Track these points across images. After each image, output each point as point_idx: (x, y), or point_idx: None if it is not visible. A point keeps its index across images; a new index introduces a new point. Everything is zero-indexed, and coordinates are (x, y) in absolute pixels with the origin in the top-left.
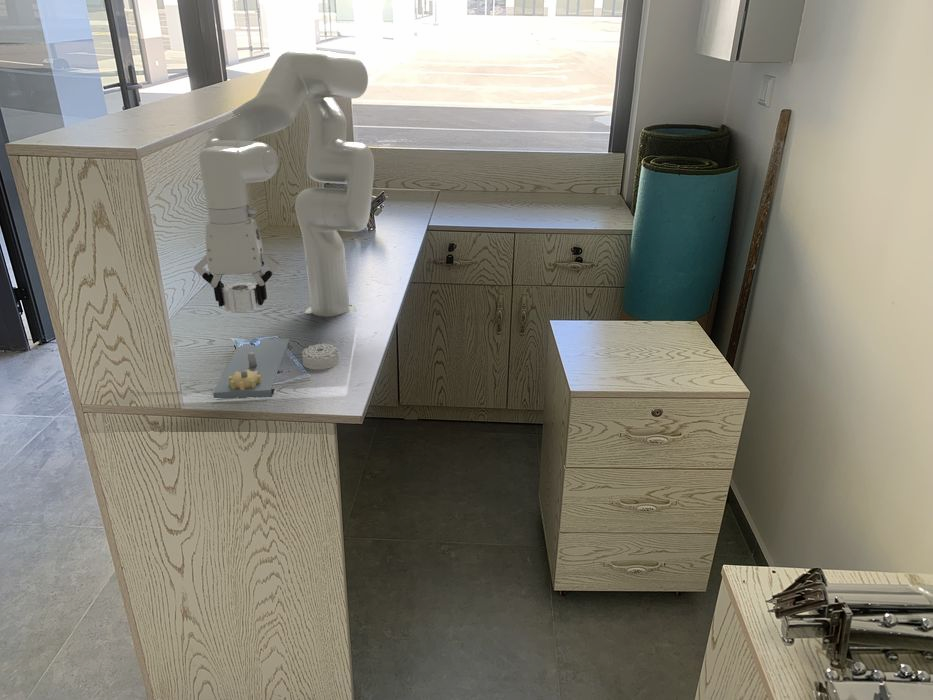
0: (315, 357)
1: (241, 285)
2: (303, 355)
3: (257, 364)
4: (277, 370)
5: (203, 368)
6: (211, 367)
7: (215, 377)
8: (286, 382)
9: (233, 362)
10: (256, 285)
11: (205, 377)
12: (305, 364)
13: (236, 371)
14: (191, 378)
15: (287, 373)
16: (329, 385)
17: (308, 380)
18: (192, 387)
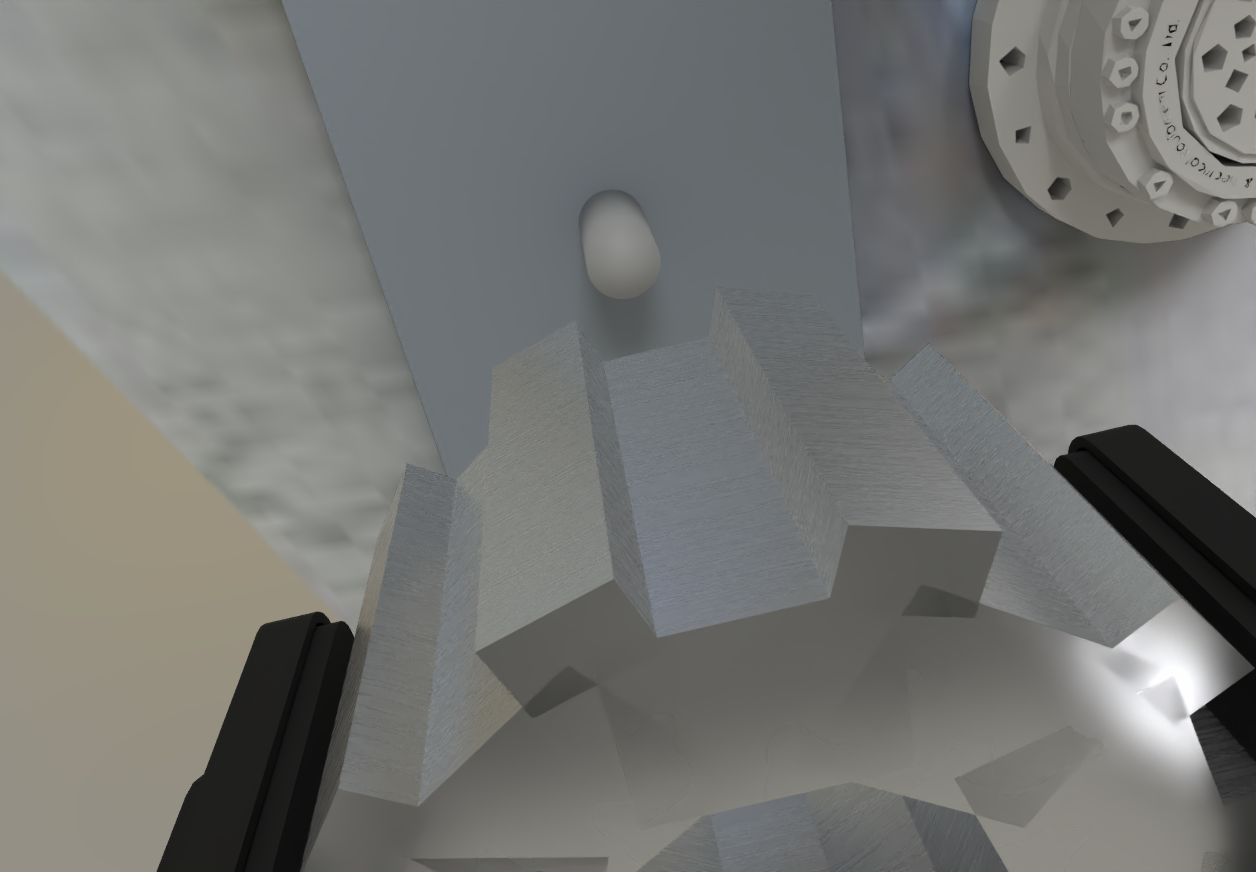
0: (1241, 197)
1: (771, 789)
2: (1117, 146)
3: (635, 176)
4: (852, 269)
5: (91, 169)
6: (153, 139)
7: (318, 318)
8: (917, 323)
9: (385, 162)
10: (1203, 671)
11: (233, 329)
12: (1090, 162)
13: (508, 331)
14: (128, 360)
15: (891, 173)
16: (1236, 325)
17: (1078, 271)
18: (244, 486)
